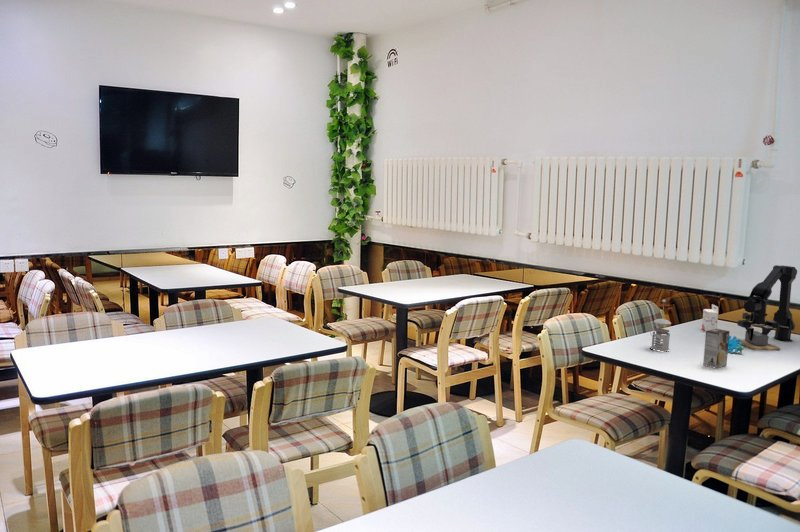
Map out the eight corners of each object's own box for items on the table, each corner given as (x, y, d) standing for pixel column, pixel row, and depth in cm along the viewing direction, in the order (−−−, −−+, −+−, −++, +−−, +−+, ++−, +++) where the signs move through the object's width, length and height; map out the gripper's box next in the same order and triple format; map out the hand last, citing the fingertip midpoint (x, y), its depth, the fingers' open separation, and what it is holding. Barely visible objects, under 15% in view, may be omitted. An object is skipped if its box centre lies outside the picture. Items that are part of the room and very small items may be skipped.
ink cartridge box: (700, 329, 367) (703, 303, 365) (709, 329, 367) (712, 303, 365) (707, 332, 359) (710, 306, 357) (716, 333, 359) (719, 306, 357)
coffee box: (713, 362, 301) (716, 328, 299) (726, 365, 296) (730, 331, 293) (702, 365, 295) (705, 330, 293) (716, 368, 290) (719, 333, 288)
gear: (715, 347, 321) (725, 332, 324) (717, 354, 325) (726, 338, 327) (738, 355, 313) (747, 339, 316) (739, 362, 317) (749, 346, 319)
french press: (659, 352, 314) (663, 301, 311) (642, 346, 325) (646, 297, 322) (675, 351, 318) (679, 300, 315) (657, 345, 329) (661, 296, 325)
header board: (758, 341, 343) (759, 334, 343) (779, 350, 325) (780, 343, 325) (732, 340, 342) (733, 334, 342) (752, 350, 325) (753, 343, 324)
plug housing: (756, 340, 339) (757, 331, 338) (767, 345, 329) (768, 335, 328) (744, 340, 339) (745, 330, 338) (755, 345, 329) (757, 335, 328)
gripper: (768, 307, 340) (764, 336, 342) (732, 307, 339) (730, 336, 341) (781, 312, 329) (777, 342, 331) (745, 311, 328) (741, 341, 330)
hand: (756, 340), depth 334 cm, fingers closed on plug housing, 6 cm apart
